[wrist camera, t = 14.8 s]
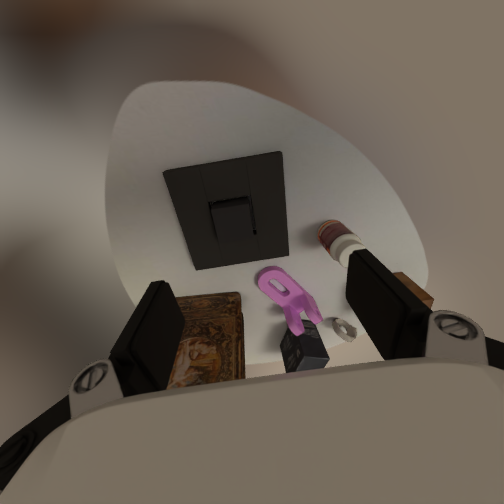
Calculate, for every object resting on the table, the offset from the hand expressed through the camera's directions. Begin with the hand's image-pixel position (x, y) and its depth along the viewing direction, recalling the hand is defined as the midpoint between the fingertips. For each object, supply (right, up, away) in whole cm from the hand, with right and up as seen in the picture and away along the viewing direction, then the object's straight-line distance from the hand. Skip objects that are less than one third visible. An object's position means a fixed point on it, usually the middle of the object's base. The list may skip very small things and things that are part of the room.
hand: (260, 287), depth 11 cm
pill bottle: (+13, +5, +26) cm, 30 cm away
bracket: (+6, -5, +32) cm, 33 cm away
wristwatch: (+20, -14, +38) cm, 44 cm away
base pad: (-3, +8, +23) cm, 25 cm away
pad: (-3, +8, +23) cm, 25 cm away
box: (+10, -17, +39) cm, 43 cm away
